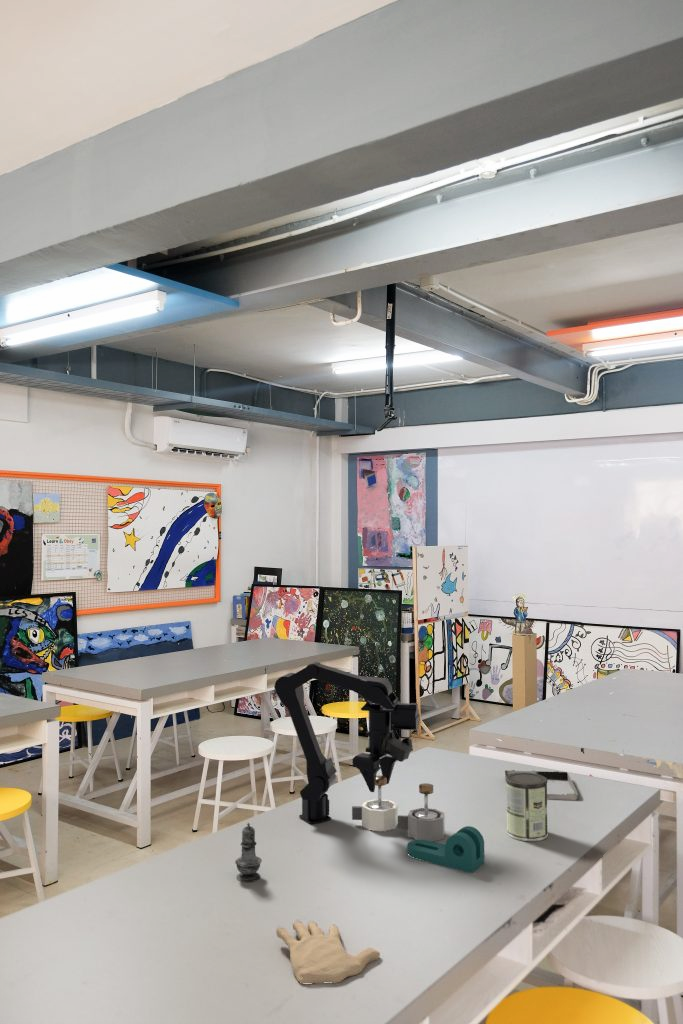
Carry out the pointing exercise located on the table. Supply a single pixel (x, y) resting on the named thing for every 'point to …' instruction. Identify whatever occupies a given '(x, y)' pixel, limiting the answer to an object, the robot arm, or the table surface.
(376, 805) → the brown and grey doorknob
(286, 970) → the table surface
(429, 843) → the bracket
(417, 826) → the grey octagonal hollow piece
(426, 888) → the table surface
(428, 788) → the coffee tamper
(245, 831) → the salt shaker
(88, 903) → the table surface
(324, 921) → the table surface
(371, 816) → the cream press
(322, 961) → the hand model
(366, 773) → the robot arm
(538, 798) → the coffee can
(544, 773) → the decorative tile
